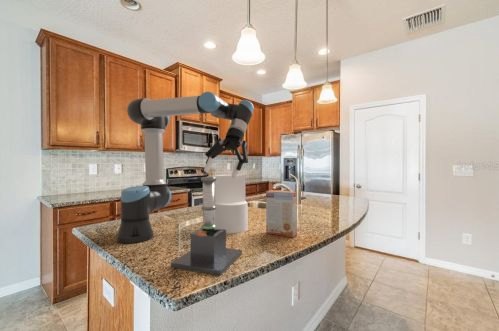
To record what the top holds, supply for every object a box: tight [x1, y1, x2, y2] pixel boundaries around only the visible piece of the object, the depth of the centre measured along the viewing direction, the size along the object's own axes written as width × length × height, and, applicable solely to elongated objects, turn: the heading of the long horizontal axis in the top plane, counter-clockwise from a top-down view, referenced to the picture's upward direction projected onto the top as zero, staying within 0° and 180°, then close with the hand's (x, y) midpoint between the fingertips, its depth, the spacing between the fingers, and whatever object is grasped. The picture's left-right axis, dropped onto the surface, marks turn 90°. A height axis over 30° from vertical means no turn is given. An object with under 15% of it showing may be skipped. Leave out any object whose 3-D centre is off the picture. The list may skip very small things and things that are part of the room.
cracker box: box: [265, 189, 298, 238], centre depth 113 cm, size 14×6×21 cm, turn 58°
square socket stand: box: [170, 228, 243, 276], centre depth 82 cm, size 18×18×11 cm
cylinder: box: [214, 174, 249, 235], centre depth 122 cm, size 17×17×28 cm
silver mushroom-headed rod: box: [200, 176, 216, 235], centre depth 82 cm, size 5×5×22 cm
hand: (219, 174), depth 95 cm, fingers open, 13 cm apart
